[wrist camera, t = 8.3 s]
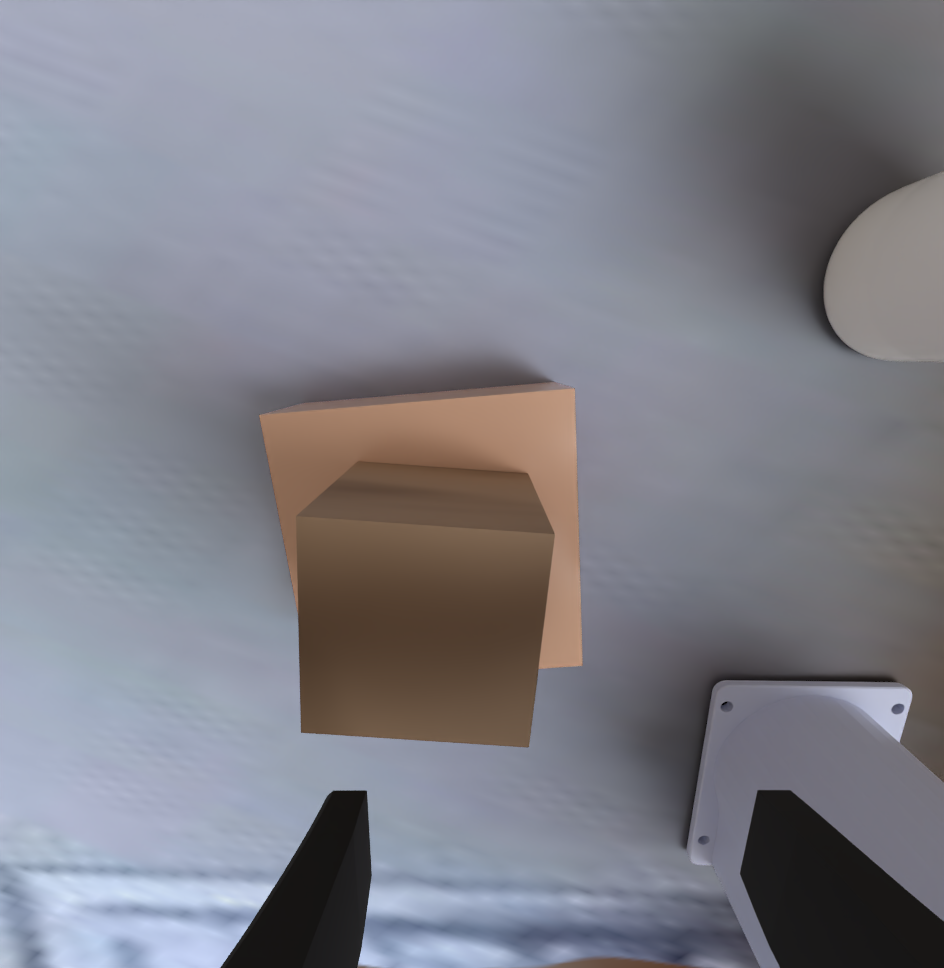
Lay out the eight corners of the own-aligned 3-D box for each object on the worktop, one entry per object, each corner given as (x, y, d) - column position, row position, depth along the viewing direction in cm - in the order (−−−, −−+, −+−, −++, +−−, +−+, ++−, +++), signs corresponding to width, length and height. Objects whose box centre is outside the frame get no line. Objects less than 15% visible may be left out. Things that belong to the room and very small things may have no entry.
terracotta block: (560, 605, 20) (582, 665, 16) (343, 621, 20) (311, 685, 16) (551, 381, 17) (574, 388, 14) (305, 401, 18) (259, 415, 14)
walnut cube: (512, 624, 15) (528, 747, 11) (355, 614, 15) (301, 732, 11) (527, 473, 14) (555, 534, 9) (357, 461, 14) (296, 516, 9)
